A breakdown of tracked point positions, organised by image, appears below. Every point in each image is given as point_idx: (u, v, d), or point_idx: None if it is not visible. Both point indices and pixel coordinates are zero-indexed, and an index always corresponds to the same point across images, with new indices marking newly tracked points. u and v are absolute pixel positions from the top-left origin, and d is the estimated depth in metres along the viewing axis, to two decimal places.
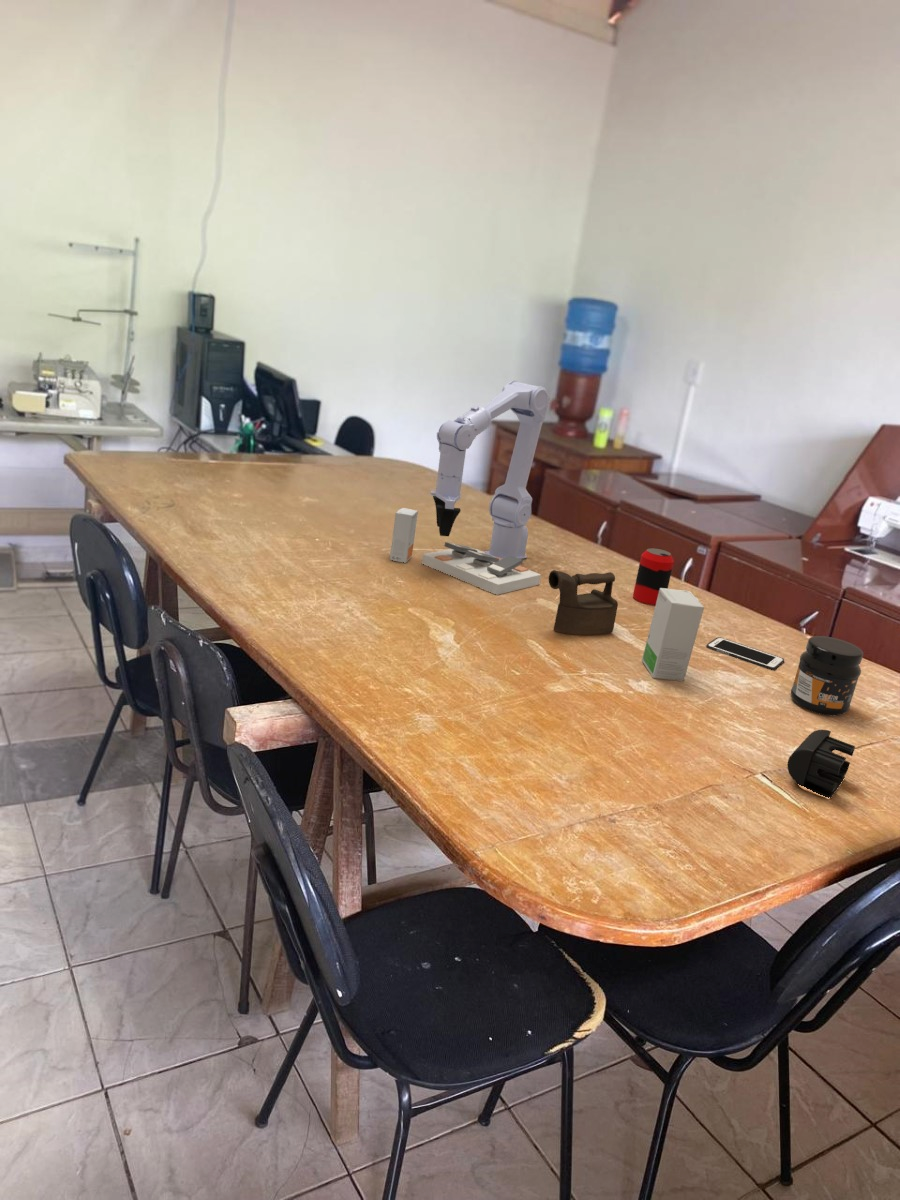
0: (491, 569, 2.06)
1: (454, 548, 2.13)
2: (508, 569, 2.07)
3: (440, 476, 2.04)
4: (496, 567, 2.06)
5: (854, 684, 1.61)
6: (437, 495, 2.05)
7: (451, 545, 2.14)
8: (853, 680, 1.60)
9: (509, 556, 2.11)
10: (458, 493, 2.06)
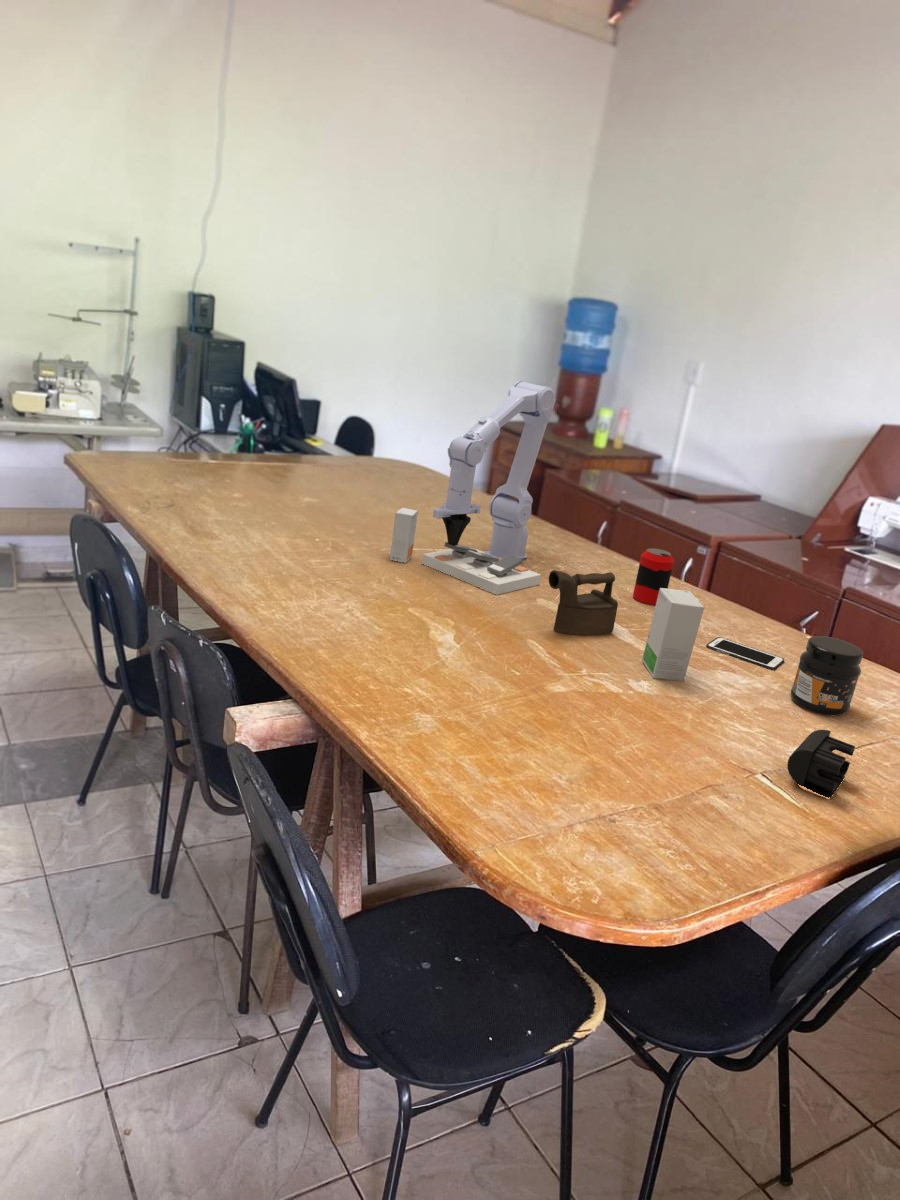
0: (491, 569, 2.06)
1: (454, 548, 2.13)
2: (508, 569, 2.07)
3: None
4: (496, 567, 2.06)
5: (854, 684, 1.61)
6: None
7: (451, 545, 2.14)
8: (853, 680, 1.60)
9: (509, 556, 2.11)
10: (460, 508, 2.09)
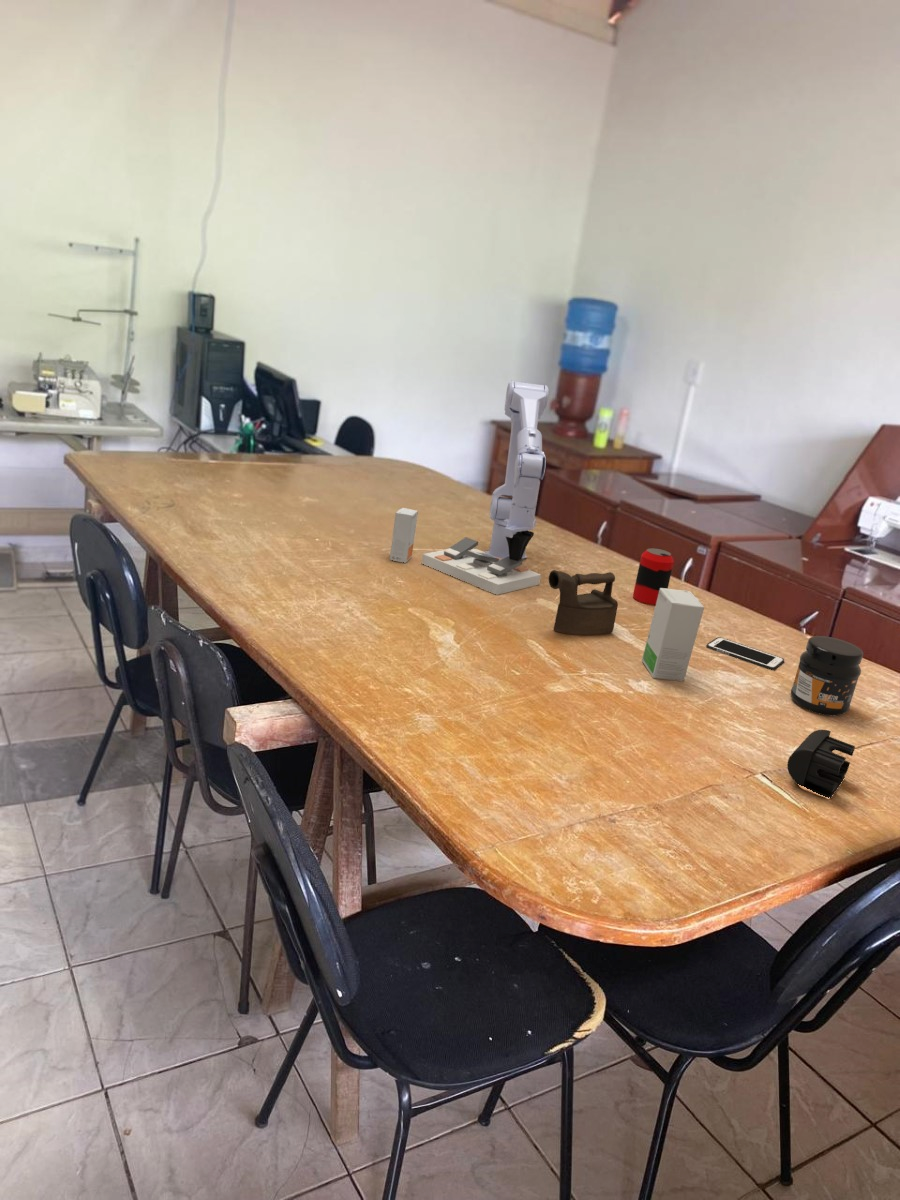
0: (491, 568, 2.06)
1: (453, 557, 2.14)
2: (508, 569, 2.07)
3: (511, 505, 2.06)
4: (496, 566, 2.06)
5: (854, 684, 1.61)
6: (507, 523, 2.07)
7: (450, 555, 2.15)
8: (853, 680, 1.60)
9: None
10: (527, 524, 2.05)
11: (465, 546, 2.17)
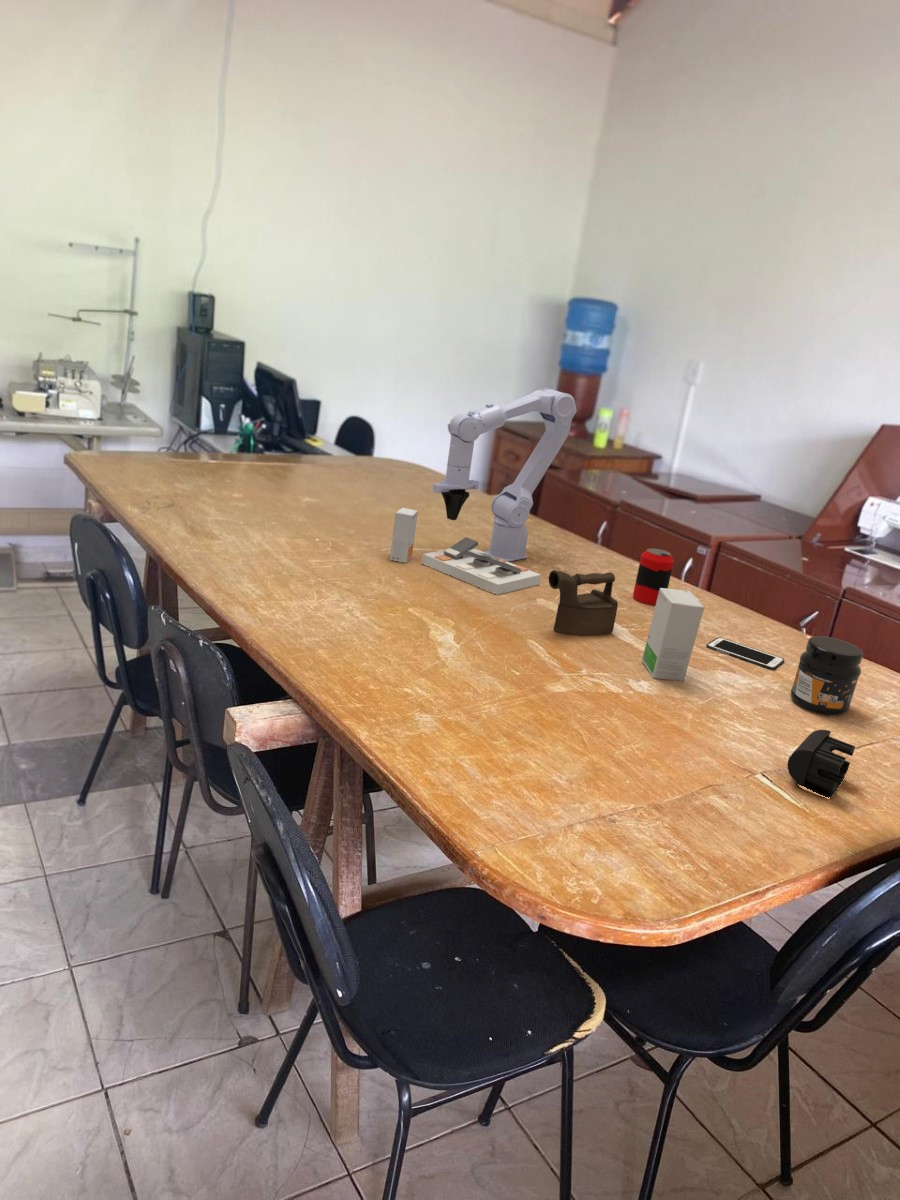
0: (493, 559, 2.06)
1: (453, 557, 2.14)
2: (509, 566, 2.07)
3: None
4: None
5: (854, 684, 1.61)
6: None
7: (450, 554, 2.15)
8: (853, 680, 1.60)
9: None
10: (459, 483, 2.15)
11: (465, 546, 2.17)
